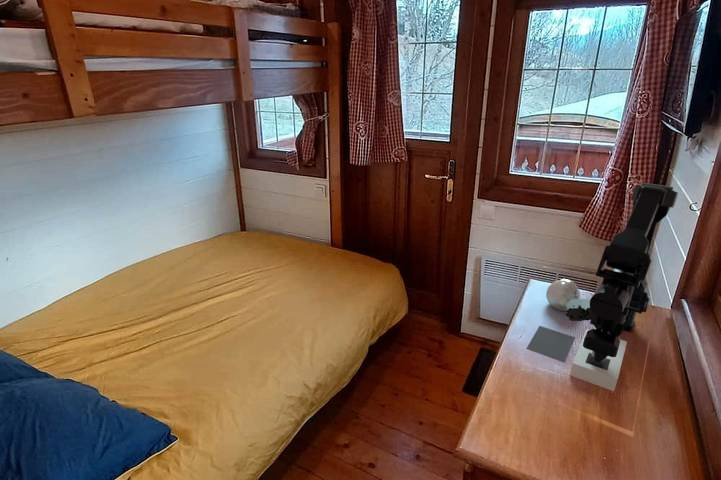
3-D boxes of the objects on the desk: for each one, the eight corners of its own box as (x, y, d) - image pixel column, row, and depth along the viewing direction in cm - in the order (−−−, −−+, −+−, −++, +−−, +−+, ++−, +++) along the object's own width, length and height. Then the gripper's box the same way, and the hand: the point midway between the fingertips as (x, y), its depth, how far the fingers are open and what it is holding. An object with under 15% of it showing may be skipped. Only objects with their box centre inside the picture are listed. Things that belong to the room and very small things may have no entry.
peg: (589, 362, 102) (599, 326, 98) (604, 367, 100) (614, 330, 96) (587, 369, 99) (596, 332, 95) (601, 374, 98) (612, 337, 94)
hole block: (583, 342, 112) (586, 329, 110) (623, 354, 107) (627, 341, 105) (569, 376, 100) (572, 363, 98) (613, 393, 95) (617, 379, 93)
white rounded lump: (541, 312, 124) (547, 281, 120) (546, 297, 132) (552, 268, 128) (575, 321, 120) (583, 290, 116) (579, 305, 128) (586, 275, 124)
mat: (539, 327, 118) (539, 325, 117) (575, 339, 113) (575, 337, 113) (525, 350, 109) (526, 348, 108) (564, 364, 104) (564, 362, 104)
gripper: (582, 271, 103) (569, 325, 110) (563, 305, 90) (550, 366, 96) (636, 284, 97) (619, 341, 104) (625, 323, 84) (607, 387, 90)
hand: (598, 357), depth 98 cm, fingers closed on peg, 3 cm apart
